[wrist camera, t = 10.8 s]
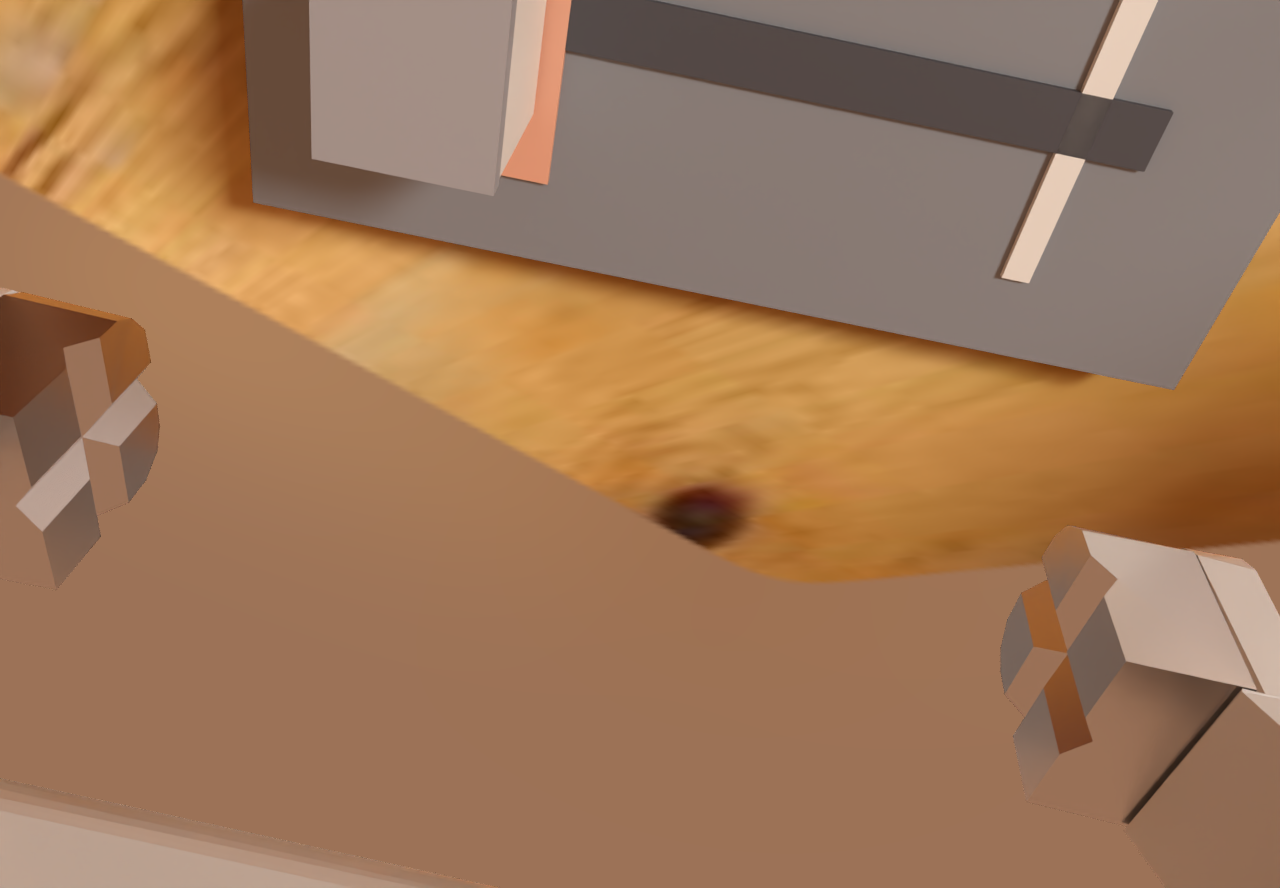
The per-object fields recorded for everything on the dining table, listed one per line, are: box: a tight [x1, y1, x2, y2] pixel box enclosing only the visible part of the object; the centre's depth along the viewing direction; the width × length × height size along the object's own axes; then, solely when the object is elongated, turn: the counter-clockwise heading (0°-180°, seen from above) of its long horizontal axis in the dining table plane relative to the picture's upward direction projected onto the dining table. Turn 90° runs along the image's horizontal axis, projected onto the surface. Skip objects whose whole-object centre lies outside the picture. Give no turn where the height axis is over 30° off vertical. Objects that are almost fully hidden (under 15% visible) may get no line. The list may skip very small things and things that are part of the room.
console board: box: [242, 0, 1280, 390], centre depth 27 cm, size 28×14×3 cm, turn 80°
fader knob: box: [309, 0, 547, 196], centre depth 24 cm, size 4×5×5 cm
